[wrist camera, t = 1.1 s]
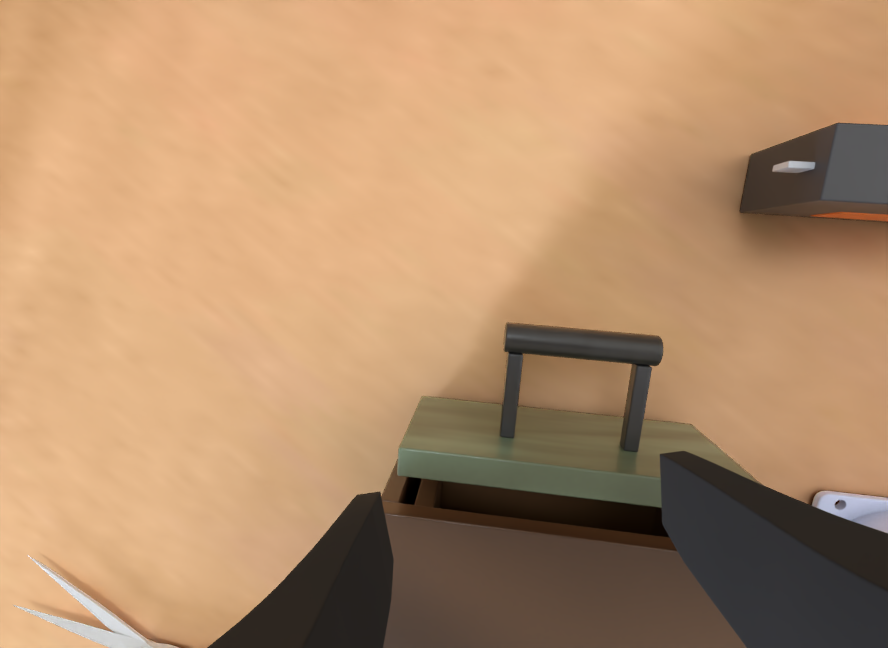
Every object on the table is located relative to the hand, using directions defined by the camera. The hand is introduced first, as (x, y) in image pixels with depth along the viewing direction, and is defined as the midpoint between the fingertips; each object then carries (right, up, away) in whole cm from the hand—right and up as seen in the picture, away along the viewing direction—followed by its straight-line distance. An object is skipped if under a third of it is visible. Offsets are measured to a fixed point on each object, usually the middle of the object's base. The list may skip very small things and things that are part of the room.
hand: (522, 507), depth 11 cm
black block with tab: (+16, +11, +9) cm, 21 cm away
